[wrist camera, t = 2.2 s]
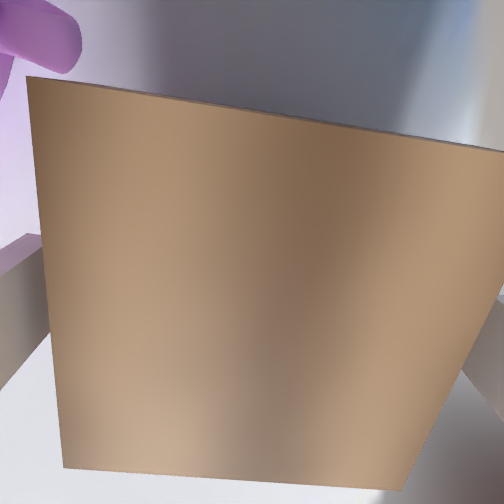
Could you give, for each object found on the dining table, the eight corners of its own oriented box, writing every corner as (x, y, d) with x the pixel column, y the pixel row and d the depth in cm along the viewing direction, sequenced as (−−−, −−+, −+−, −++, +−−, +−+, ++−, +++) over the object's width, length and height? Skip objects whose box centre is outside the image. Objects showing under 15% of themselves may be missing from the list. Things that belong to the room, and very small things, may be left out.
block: (99, 393, 14) (63, 468, 11) (90, 83, 9) (25, 75, 6) (370, 416, 14) (400, 491, 12) (476, 145, 10) (563, 162, 7)
